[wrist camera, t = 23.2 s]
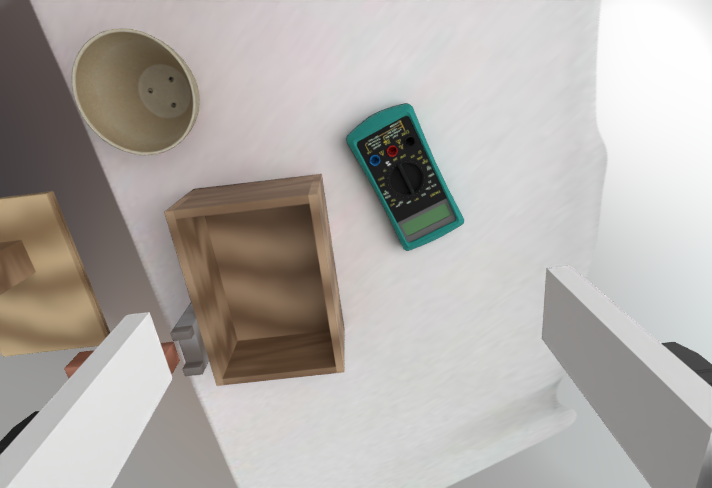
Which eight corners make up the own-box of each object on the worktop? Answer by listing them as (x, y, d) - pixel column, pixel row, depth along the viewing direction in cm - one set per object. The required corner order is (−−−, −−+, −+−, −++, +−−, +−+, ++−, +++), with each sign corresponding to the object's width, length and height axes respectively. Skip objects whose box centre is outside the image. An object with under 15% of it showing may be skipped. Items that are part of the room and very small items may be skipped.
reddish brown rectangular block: (79, 352, 42) (64, 368, 39) (173, 341, 42) (163, 357, 39) (87, 370, 43) (73, 387, 40) (179, 360, 42) (170, 377, 40)
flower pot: (169, 161, 44) (138, 177, 38) (94, 80, 41) (45, 82, 34) (239, 102, 42) (219, 107, 36) (165, 11, 39) (128, -1, 32)
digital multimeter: (405, 96, 43) (409, 97, 40) (461, 217, 48) (468, 226, 45) (342, 130, 44) (342, 134, 41) (403, 245, 49) (406, 256, 46)
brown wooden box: (177, 191, 45) (133, 222, 36) (321, 174, 45) (315, 201, 36) (220, 343, 53) (193, 402, 44) (344, 329, 53) (344, 386, 43)
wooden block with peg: (-67, 205, 46) (-160, 235, 37) (53, 191, 46) (-14, 218, 37) (9, 350, 53) (-54, 403, 45) (113, 338, 53) (68, 389, 44)
